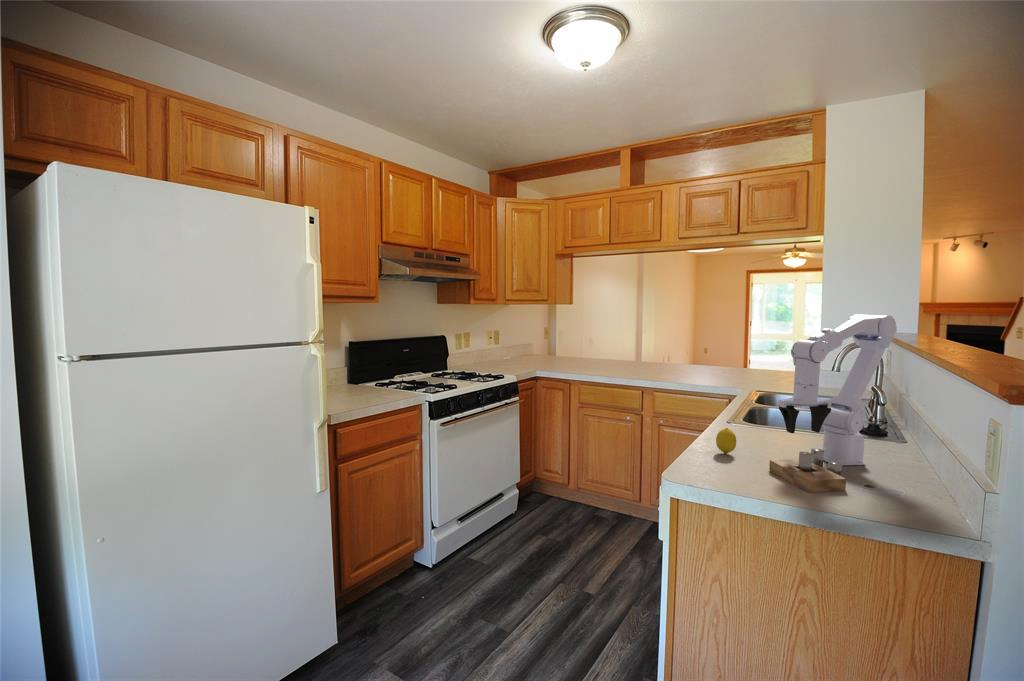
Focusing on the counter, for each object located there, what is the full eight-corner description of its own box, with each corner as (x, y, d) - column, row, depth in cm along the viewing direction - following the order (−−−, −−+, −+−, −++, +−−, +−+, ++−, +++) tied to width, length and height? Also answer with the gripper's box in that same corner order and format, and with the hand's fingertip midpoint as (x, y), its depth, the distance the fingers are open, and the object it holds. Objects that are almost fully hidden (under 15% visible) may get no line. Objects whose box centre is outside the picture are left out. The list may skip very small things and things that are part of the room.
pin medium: (817, 465, 130) (818, 448, 130) (825, 469, 127) (826, 451, 127) (807, 465, 130) (808, 448, 129) (815, 469, 127) (816, 452, 126)
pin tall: (805, 477, 121) (807, 451, 121) (813, 481, 118) (815, 455, 118) (794, 477, 121) (796, 451, 120) (802, 481, 118) (804, 455, 117)
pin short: (834, 473, 124) (835, 460, 124) (843, 477, 121) (844, 464, 121) (824, 473, 124) (825, 461, 123) (833, 478, 121) (834, 465, 120)
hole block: (802, 469, 127) (803, 458, 126) (845, 490, 113) (846, 478, 113) (769, 470, 126) (769, 460, 125) (808, 492, 112) (809, 480, 111)
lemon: (737, 457, 136) (739, 431, 135) (717, 456, 137) (719, 430, 136) (732, 451, 141) (734, 426, 140) (713, 450, 142) (714, 425, 141)
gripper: (818, 380, 132) (815, 427, 133) (772, 381, 130) (769, 428, 131) (839, 385, 125) (835, 434, 126) (790, 386, 123) (786, 436, 124)
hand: (802, 432), depth 128 cm, fingers open, 7 cm apart
